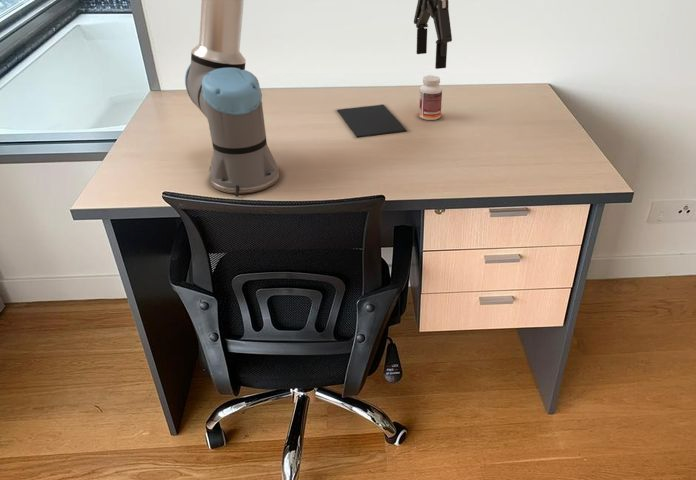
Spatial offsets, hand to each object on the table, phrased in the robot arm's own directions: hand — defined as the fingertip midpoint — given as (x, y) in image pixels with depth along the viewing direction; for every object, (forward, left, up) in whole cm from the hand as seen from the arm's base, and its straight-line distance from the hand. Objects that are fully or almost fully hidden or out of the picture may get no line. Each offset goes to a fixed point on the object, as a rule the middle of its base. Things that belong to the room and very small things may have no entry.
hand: (430, 60), depth 158 cm
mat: (+2, +17, -16) cm, 23 cm away
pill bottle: (0, 0, -16) cm, 16 cm away
